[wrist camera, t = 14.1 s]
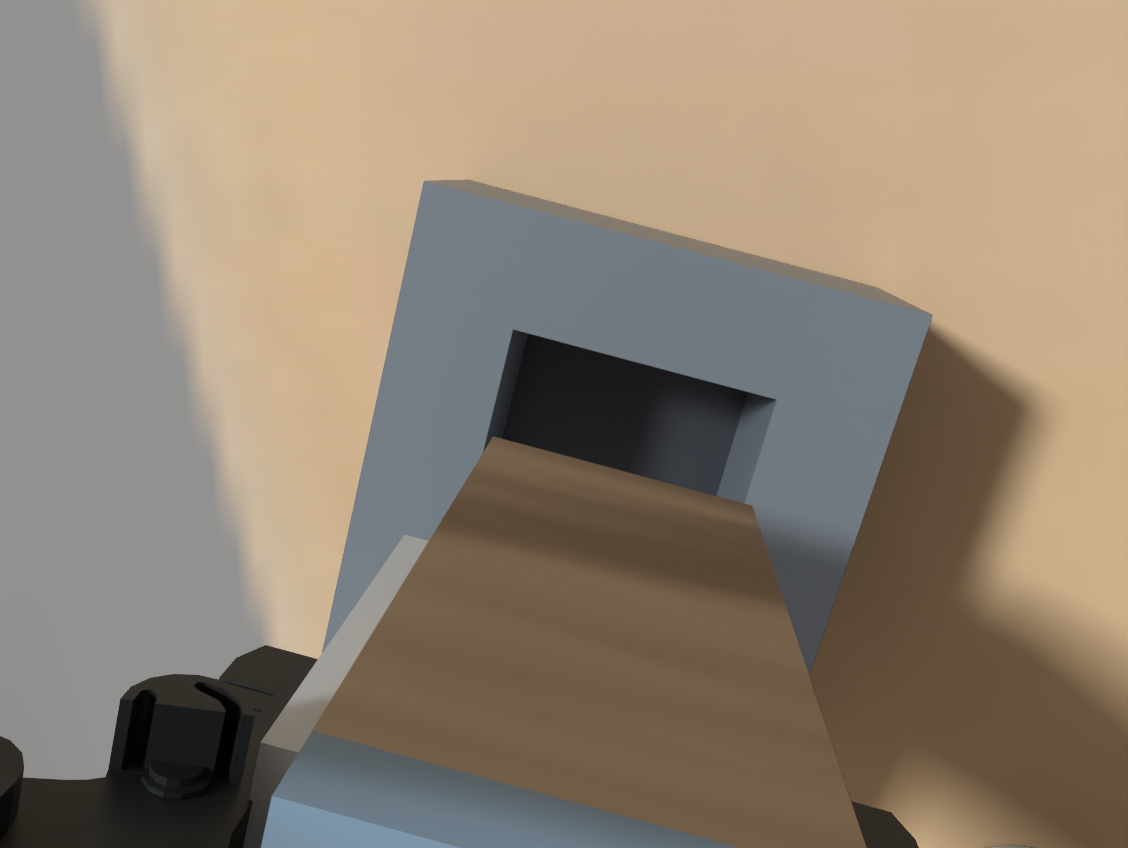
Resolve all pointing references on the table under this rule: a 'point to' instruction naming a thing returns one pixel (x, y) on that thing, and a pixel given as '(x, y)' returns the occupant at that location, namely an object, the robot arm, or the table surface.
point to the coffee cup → (1010, 847)
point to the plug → (574, 683)
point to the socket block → (631, 379)
